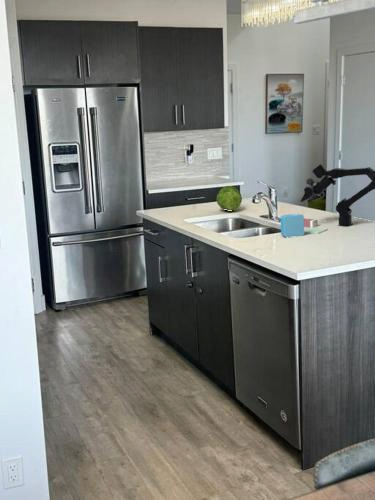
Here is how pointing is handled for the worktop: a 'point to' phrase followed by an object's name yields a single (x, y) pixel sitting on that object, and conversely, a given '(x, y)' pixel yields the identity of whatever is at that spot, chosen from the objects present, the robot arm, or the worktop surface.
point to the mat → (314, 230)
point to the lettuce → (229, 198)
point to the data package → (292, 225)
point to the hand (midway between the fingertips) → (304, 201)
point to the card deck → (310, 223)
